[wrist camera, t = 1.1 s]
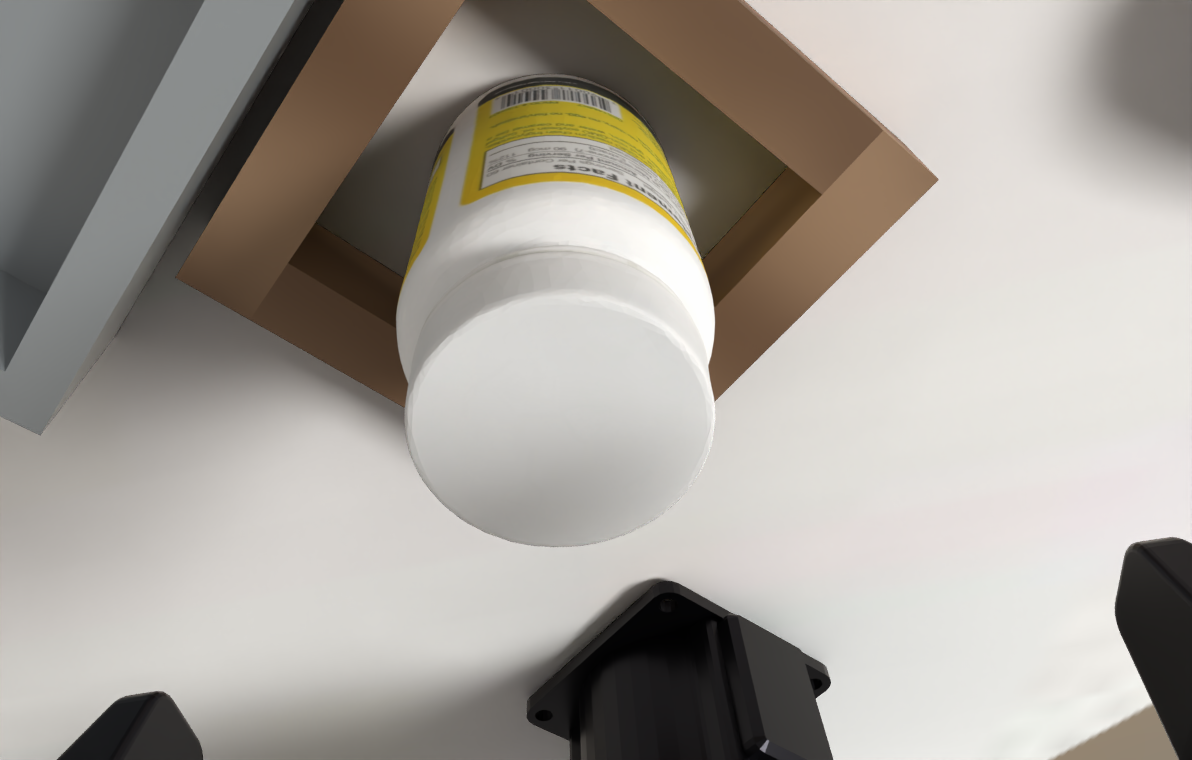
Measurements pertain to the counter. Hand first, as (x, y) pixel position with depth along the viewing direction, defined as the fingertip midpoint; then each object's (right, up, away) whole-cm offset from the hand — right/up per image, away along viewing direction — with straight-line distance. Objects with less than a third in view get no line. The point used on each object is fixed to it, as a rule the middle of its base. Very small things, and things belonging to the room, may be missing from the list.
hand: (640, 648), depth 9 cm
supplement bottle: (-1, +7, +10) cm, 12 cm away
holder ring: (-1, +6, +10) cm, 12 cm away
